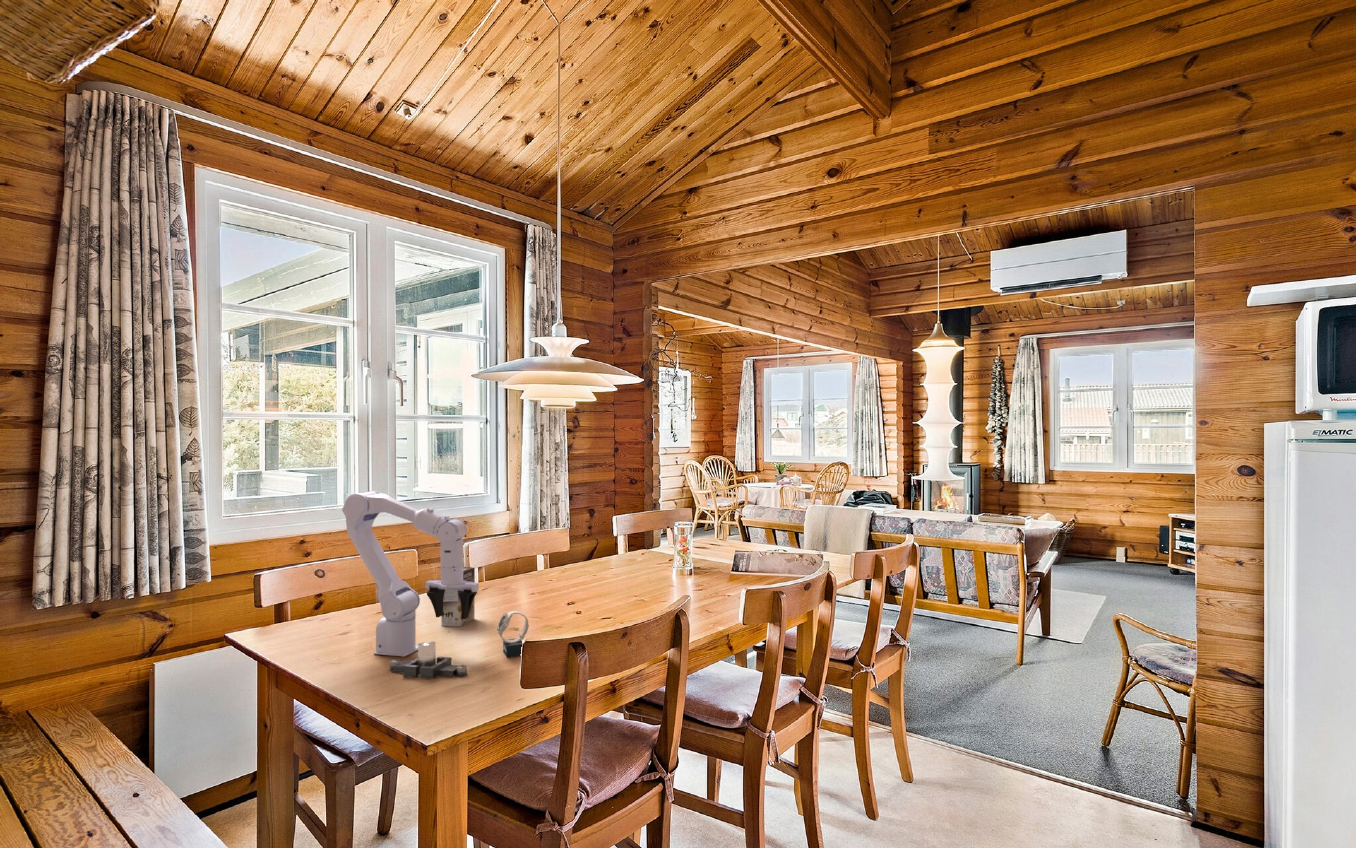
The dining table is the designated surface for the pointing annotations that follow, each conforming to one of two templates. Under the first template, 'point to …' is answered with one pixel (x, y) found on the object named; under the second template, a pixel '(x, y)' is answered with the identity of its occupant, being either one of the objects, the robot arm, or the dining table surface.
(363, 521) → the robot arm
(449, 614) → the coffee box
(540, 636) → the dining table surface
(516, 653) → the watch
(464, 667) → the chain end right
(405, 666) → the chain end left
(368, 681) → the dining table surface
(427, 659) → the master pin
